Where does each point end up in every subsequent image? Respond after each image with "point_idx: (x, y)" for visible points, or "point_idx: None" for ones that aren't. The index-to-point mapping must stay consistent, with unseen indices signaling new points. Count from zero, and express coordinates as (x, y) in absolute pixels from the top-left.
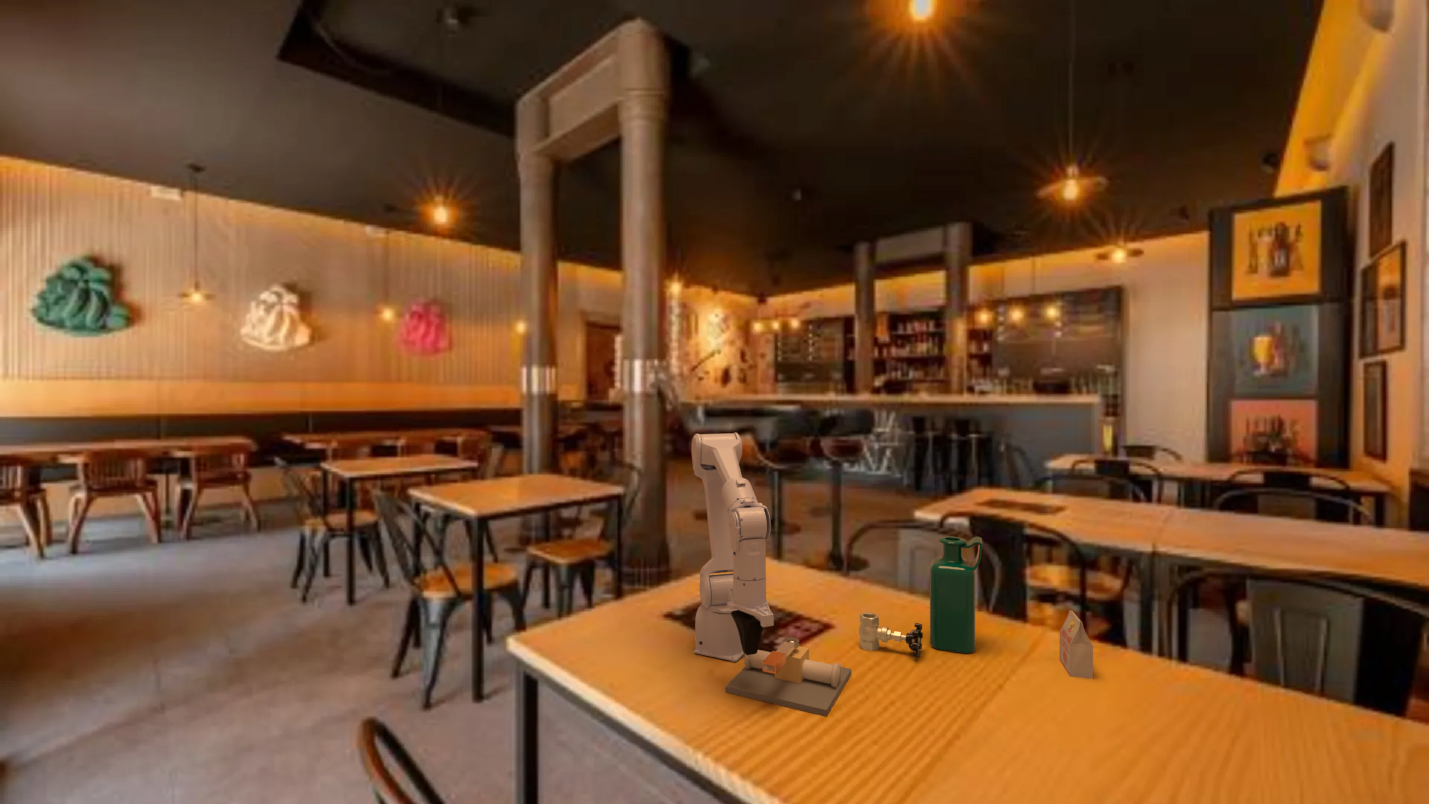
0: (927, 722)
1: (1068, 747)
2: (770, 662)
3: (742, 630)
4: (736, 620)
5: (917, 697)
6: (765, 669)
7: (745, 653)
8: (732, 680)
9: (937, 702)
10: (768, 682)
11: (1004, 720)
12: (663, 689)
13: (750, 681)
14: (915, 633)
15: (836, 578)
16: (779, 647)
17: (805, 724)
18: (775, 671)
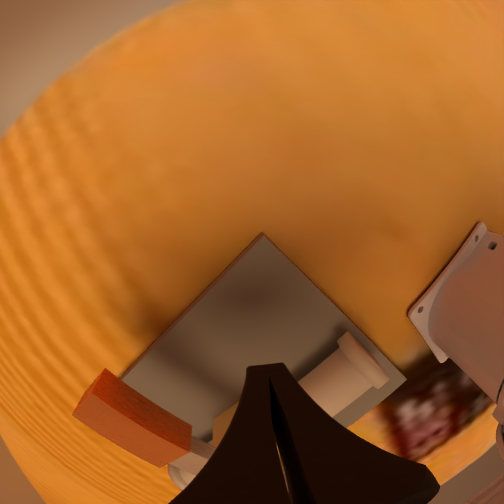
0: (91, 469)
1: (67, 493)
2: (86, 409)
3: (234, 462)
4: (317, 494)
5: (153, 492)
6: (96, 379)
7: (254, 367)
8: (295, 271)
9: (139, 495)
10: (242, 364)
11: (103, 500)
12: (340, 62)
13: (268, 322)
14: None
15: (477, 457)
16: None
17: (71, 356)
18: (82, 396)
